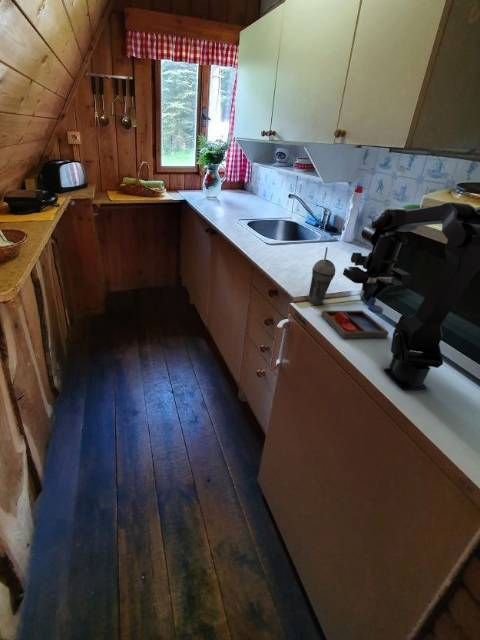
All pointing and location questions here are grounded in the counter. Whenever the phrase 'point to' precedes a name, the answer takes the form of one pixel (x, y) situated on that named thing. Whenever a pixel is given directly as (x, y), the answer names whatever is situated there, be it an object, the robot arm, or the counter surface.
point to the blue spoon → (372, 305)
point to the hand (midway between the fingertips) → (367, 300)
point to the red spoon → (344, 321)
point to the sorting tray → (356, 325)
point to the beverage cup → (321, 279)
